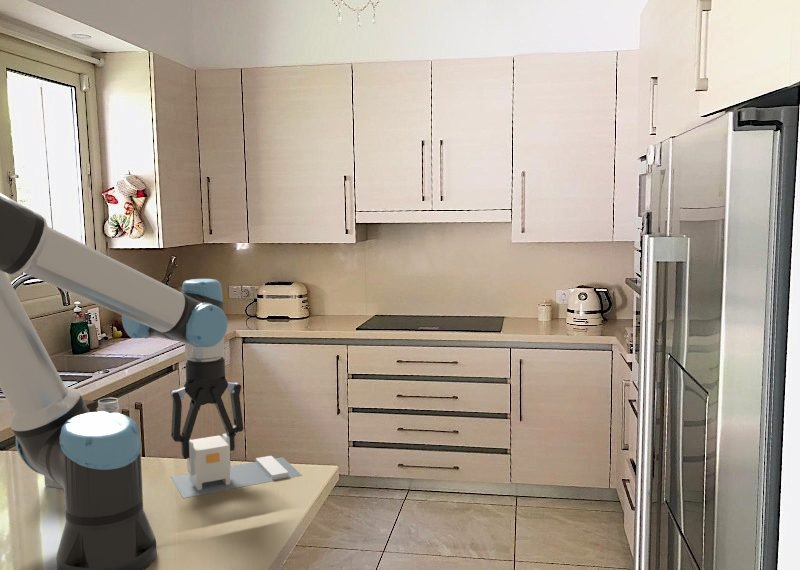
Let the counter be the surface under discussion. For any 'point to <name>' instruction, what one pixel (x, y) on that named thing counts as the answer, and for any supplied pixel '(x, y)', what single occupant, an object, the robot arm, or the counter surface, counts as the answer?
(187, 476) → the panel
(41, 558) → the counter surface
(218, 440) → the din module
